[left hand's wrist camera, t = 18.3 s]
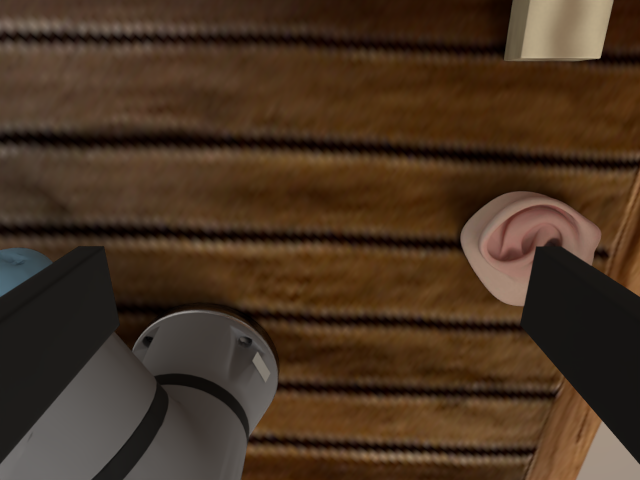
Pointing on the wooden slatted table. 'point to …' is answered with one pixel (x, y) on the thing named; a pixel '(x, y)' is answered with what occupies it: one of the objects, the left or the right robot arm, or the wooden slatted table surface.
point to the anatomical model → (522, 240)
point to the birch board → (557, 30)
